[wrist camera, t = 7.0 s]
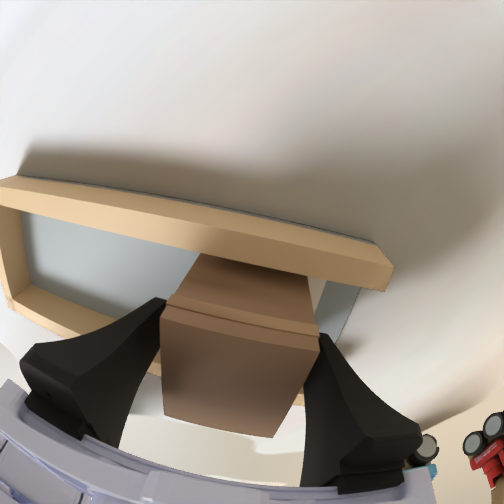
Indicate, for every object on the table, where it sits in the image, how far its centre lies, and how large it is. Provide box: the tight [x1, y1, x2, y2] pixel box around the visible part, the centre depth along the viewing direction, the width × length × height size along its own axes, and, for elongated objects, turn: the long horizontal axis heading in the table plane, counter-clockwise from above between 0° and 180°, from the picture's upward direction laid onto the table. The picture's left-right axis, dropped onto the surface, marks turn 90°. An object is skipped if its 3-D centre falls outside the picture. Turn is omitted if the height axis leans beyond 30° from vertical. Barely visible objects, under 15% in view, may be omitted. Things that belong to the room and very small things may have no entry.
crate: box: [160, 253, 320, 438], centre depth 12 cm, size 6×5×6 cm
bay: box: [0, 175, 395, 406], centre depth 14 cm, size 10×24×3 cm, turn 79°
